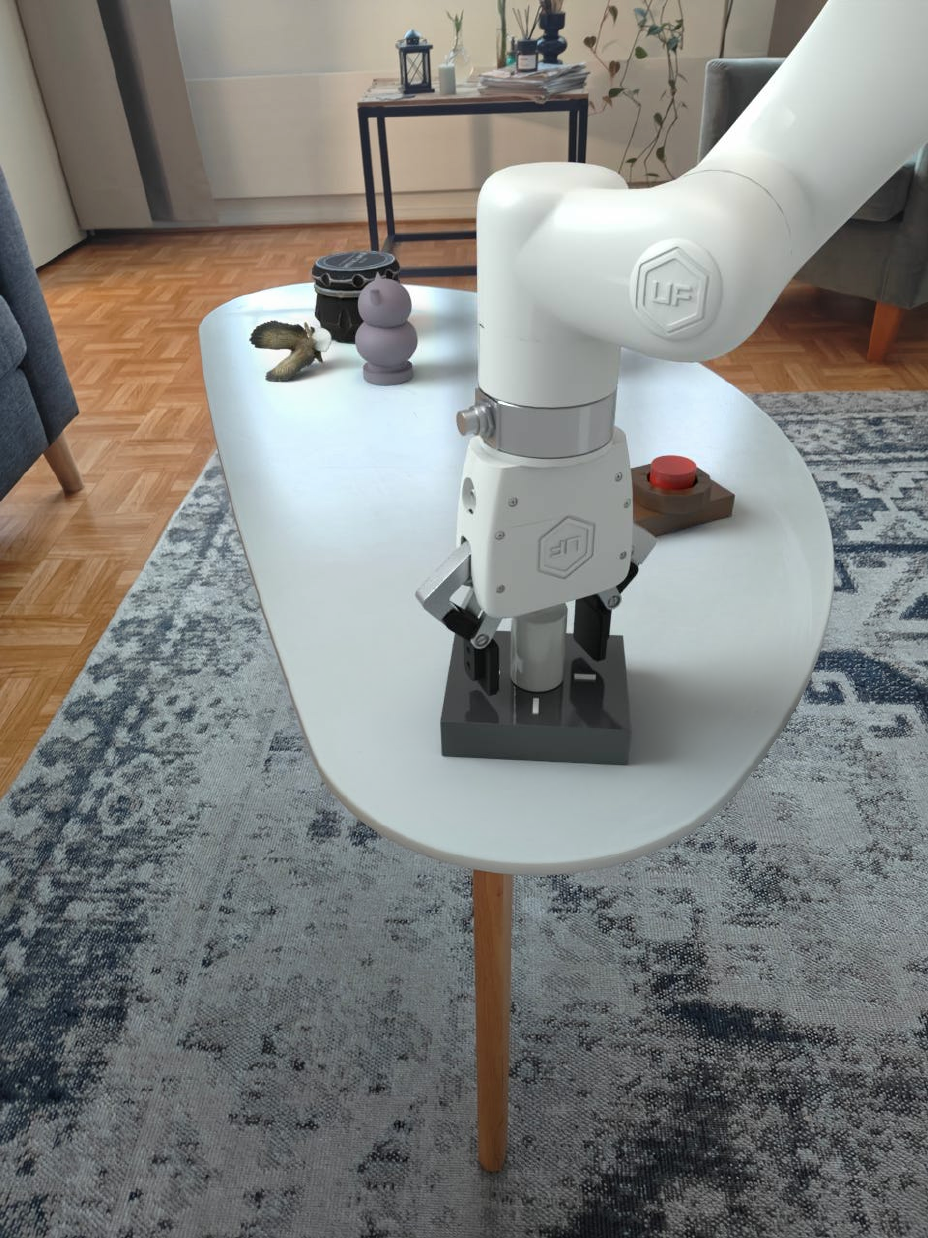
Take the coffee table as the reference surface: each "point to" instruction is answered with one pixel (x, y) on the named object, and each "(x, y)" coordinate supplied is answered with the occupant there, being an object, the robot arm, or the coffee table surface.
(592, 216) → the robot arm
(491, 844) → the coffee table surface
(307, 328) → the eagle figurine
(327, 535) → the coffee table surface
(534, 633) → the hob knob
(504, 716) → the hob panel
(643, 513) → the power block
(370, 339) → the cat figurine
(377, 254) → the container
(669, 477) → the power button
